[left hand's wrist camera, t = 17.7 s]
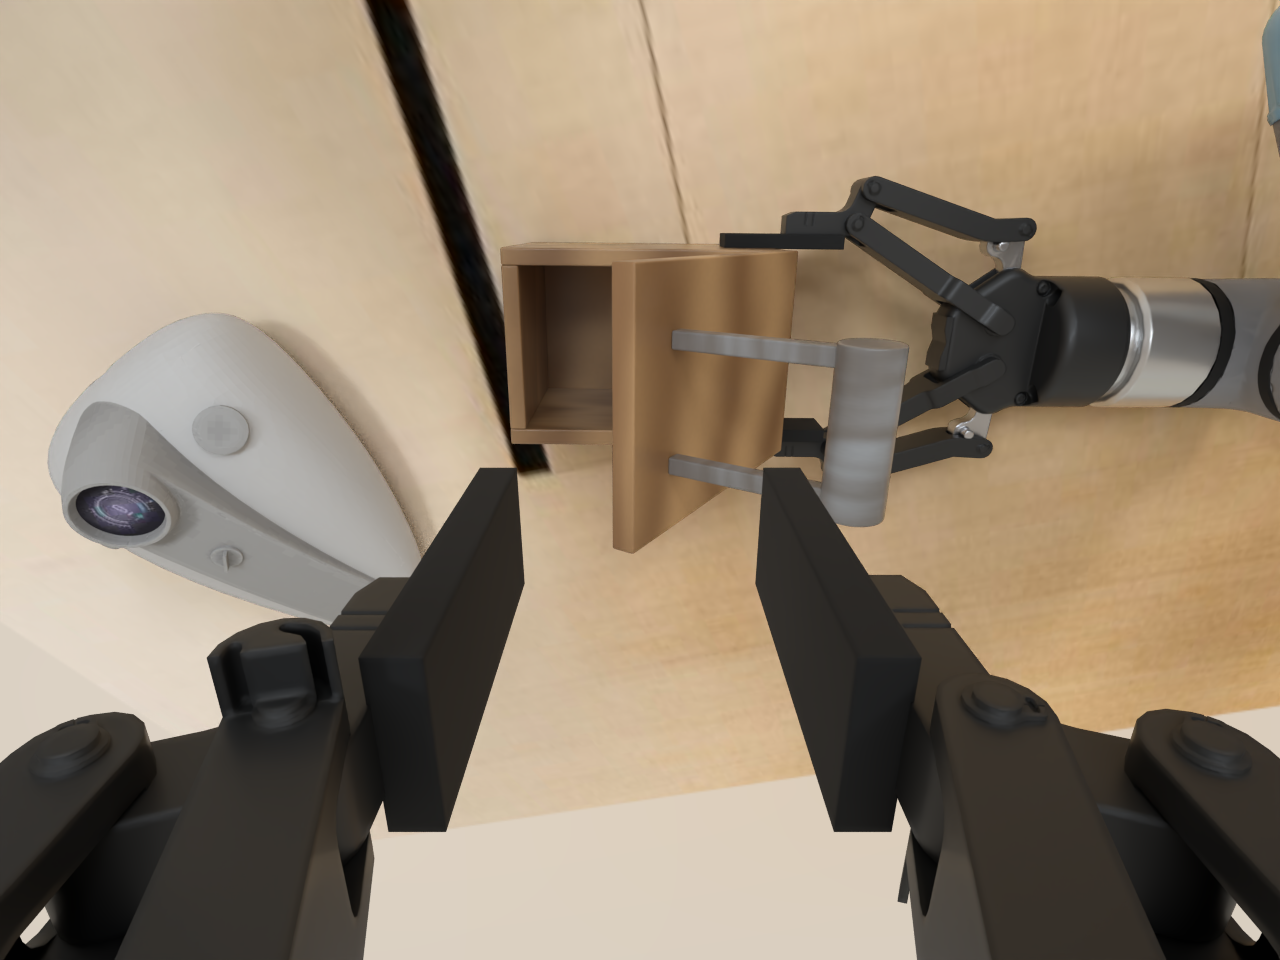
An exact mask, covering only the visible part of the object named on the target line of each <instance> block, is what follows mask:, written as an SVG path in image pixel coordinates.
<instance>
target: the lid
mask: <svg viewBox="0 0 1280 960" xmlns="http://www.w3.org/2000/svg"><path fill="white" fill-rule="evenodd" d="M797 257H798V251H783V250H781V251H765V252H749V253H734V254H718V255H702V256H687V257H671V258H655V259H639V260H624V261H613V262H612V433H613V548H614V549H618V550H621V551H624V552H628V553H631V554H633V553H635V552H636V551H638V550H639V549H641V548H642V547H643V546H645V545H646V544H648V543H649V542H651V541H652V540H653V539H655V538H656V537H658V536H659V535H661V534H662V533H663V532H665V531H666V530H668V529H669V528H671V527H672V526H673V525H675V524H676V523H678V522H679V521H681V520H682V519H683V518H685V517H686V516H688V515H689V514H691V513H692V512H693V511H695V510H696V509H698V508H699V507H701V506H702V505H703V504H705V503H706V502H708V501H709V500H711V499H712V498H713V497H715V496H716V495H718V494H719V493H721V492H722V491H723V490H725V489H726V488H728V487H730V488H734V489H739V490H743V491H748V492H753V493H757V494H762V481H763V471H762V470H757V469H755V468H756V467H758V466H759V465H761V464H762V463H764V462H765V461H766V460H768V459H769V458H771V457H772V456H774V455H775V454H776V453H778V452H779V451H781V443H782V431H783V420H784V408H785V397H786V385H787V373H788V363H795V364H804V365H812V366H821V367H830V368H834V375H833V384H832V393H831V402H830V411H829V420H828V429H827V438H826V447H825V457H824V466H823V475H822V482H817V481H812V480H808V481H809V483H810V484H811V486H812V487H813V489H814V491H815V492H816V494H817V495H818V497H819V498H820V500H821V501H822V503H823V505H824V506H825V508H826V509H827V511H828V512H829V514H830V516H831V517H832V519H833V520H834V522H835V523H837V524H840V525H845V526H851V527H869V526H875V525H878V524H880V523H881V522H882V521H883V520H884V516H885V509H886V502H887V495H888V488H889V482H890V475H891V468H892V461H893V454H894V448H895V441H896V434H897V427H898V420H899V413H900V407H901V400H902V393H903V386H904V379H905V373H906V366H907V359H908V352H909V346H908V345H907V344H905V343H902V342H898V341H893V340H885V339H873V338H851V339H843V340H840V341H838V342H837V343H829V342H818V341H808V340H797V339H790V338H791V327H792V315H793V304H794V292H795V280H796V269H797Z"/></svg>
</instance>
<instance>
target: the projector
mask: <svg viewBox="0 0 1280 960" xmlns="http://www.w3.org/2000/svg"><path fill="white" fill-rule="evenodd" d="M48 468H49V474H50V477H51V479H52V481H53V484H54V486H55V488H56V489H57V491H58V492H59V494H60V495H61V500H62V509H63V515H64V518H65V520H66V521H67V523H68V524H69V525H70V527H71V528H72V529H73V530H75V531H76V532H77V533H79V534H80V535H82V536H83V537H85V538H87V539H89V540H91V541H93V542H96V543H99V544H101V545H103V546H106V547H108V548H111V549H119V548H125V549H127V550H128V551H130V552H132V553H133V554H135V555H137V556H139V557H141V558H143V559H145V560H147V561H149V562H151V563H153V564H155V565H157V566H159V567H161V568H163V569H166V570H168V571H170V572H172V573H175V574H177V575H179V576H182V577H184V578H186V579H188V580H191V581H193V582H196V583H198V584H201V585H204V586H206V587H209V588H211V589H214V590H216V591H219V592H222V593H224V594H227V595H230V596H233V597H236V598H239V599H242V600H245V601H248V602H251V603H254V604H256V605H259V606H263V607H266V608H269V609H273V610H276V611H279V612H282V613H286V614H289V615H292V616H296V617H299V618H309V619H313V620H318V621H322V622H323V623H324V624H327V625H331V624H332V623H333V621H334V620H335V619H336V617H337V616H338V615H341V611H342V610H343V608H344V607H345V606H346V604H347V603H348V602H349V600H350V599H351V598H352V596H353V595H354V594H355V593H356V592H357V591H359V590H360V589H362V588H364V587H365V586H367V585H368V584H370V583H371V582H373V581H374V580H376V579H377V578H379V577H410V576H411V575H412V573H413V572H414V570H415V568H416V567H417V565H418V564H419V562H420V561H421V555H420V551H419V548H418V546H417V543H416V540H415V538H414V535H413V533H412V531H411V528H410V526H409V524H408V522H407V520H406V518H405V516H404V514H403V512H402V510H401V507H400V505H399V503H398V502H397V500H396V498H395V496H394V494H393V493H392V491H391V489H390V487H389V485H388V483H387V482H386V480H385V478H384V477H383V475H382V473H381V472H380V470H379V469H378V467H377V465H376V464H375V462H374V461H373V459H372V458H371V456H370V454H369V453H368V451H367V450H366V448H365V447H364V446H363V444H362V443H361V441H360V440H359V439H358V437H357V436H356V434H355V433H354V432H353V430H352V429H351V427H350V426H349V425H348V424H347V422H346V421H345V420H344V418H343V417H342V416H341V414H340V413H339V412H338V411H337V409H336V408H335V407H334V405H333V404H332V403H331V402H330V401H329V399H328V398H327V397H326V396H325V395H324V393H323V392H322V391H321V390H320V389H319V387H318V386H317V385H316V384H315V383H314V382H313V381H312V379H311V378H310V377H309V376H308V375H307V374H306V373H305V371H304V370H303V369H302V368H301V367H300V366H299V365H298V364H297V363H296V362H295V361H294V360H293V359H292V358H291V357H290V356H289V355H288V354H287V353H286V352H285V351H284V350H283V349H282V348H281V347H280V346H279V345H278V344H277V343H276V342H275V341H273V340H272V339H271V338H270V337H269V336H267V335H266V334H265V333H264V332H262V331H261V330H260V329H258V328H257V327H255V326H254V325H252V324H251V323H249V322H247V321H245V320H243V319H241V318H238V317H236V316H232V315H228V314H223V313H205V314H200V315H195V316H191V317H187V318H184V319H181V320H178V321H176V322H174V323H171V324H169V325H167V326H165V327H163V328H161V329H160V330H158V331H156V332H154V333H153V334H151V335H150V336H148V337H147V338H146V339H144V340H143V341H141V342H140V343H139V344H137V345H136V346H135V347H133V348H132V349H131V350H129V351H128V352H127V353H126V354H124V355H123V356H122V357H121V358H119V359H118V360H117V361H116V362H115V363H114V364H112V365H111V366H110V368H109V369H108V370H107V371H106V373H104V374H103V375H102V376H101V377H100V378H98V379H97V380H95V381H94V382H93V383H92V384H91V385H89V387H88V388H87V389H86V390H85V391H84V392H83V393H82V394H81V395H80V396H79V397H78V398H77V400H76V401H75V402H74V403H73V404H72V405H71V407H70V408H69V409H68V411H67V412H66V414H65V415H64V416H63V418H62V420H61V421H60V423H59V425H58V426H57V428H56V431H55V433H54V435H53V438H52V440H51V443H50V447H49V451H48Z"/></svg>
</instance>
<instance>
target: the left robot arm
mask: <svg viewBox="0 0 1280 960" xmlns="http://www.w3.org/2000/svg"><path fill="white" fill-rule="evenodd" d="M524 584H525V583H524V568H523V554H522V539H521V525H520V510H519V496H518V481H517V468H480V469H479V470H478V472H477V473H476V475H475V477H474V478H473V480H472V481H471V483H470V484H469V486H468V487H467V489H466V491H465V492H464V494H463V495H462V497H461V498H460V500H459V501H458V503H457V505H456V506H455V508H454V509H453V511H452V512H451V514H450V515H449V517H448V519H447V520H446V522H445V523H444V525H443V526H442V528H441V530H440V531H439V533H438V534H437V536H436V537H435V539H434V540H433V542H432V544H431V545H430V547H429V548H428V550H427V551H426V553H425V554H424V556H423V558H422V559H421V561H420V562H419V564H418V565H417V567H416V568H415V570H414V572H413V573H412V575H411V576H410V577H379V578H377V579H376V580H374V581H373V582H371V583H370V584H368V585H367V586H365V587H364V588H362V589H360V590H359V591H357V592H356V593H355V594H354V595H353V596H352V598H351V599H350V600H349V602H348V603H347V604H346V606H345V607H344V608H343V610H342V611H341V615H338V616H337V617H336V619H335V620H334V621H333V623H332V624H331V625H330V627H328V626H327V625H326V624H324V623H323V622H322V621H318V620H313V619H309V618H283V619H279V620H274V621H269V622H265V623H260V624H258V625H255V626H252V627H250V628H247V629H245V630H242V631H240V632H237V633H236V634H234V635H233V636H231V637H229V638H228V639H226V640H225V641H223V642H222V643H220V644H218V646H217V647H216V648H215V649H214V650H213V651H212V652H211V653H210V655H209V656H208V657H207V661H208V664H209V668H210V672H211V675H212V679H213V683H214V687H215V690H216V694H217V698H218V701H219V705H220V709H221V712H222V716H223V718H222V720H221V722H220V725H219V727H217V728H213V729H209V730H206V731H201V732H197V733H192V734H187V735H182V736H178V737H173V738H168V739H163V740H159V741H154V742H150V740H149V736H148V733H147V730H146V727H145V724H144V722H143V721H141V720H140V719H139V718H137V717H136V716H135V715H133V714H126V713H119V712H110V713H102V714H94V715H89V716H84V717H80V718H77V719H76V720H74V719H73V720H70V721H67V722H65V723H62V724H59V725H57V726H56V727H54V728H52V729H50V730H48V731H46V732H44V733H42V734H40V735H38V736H36V737H34V738H33V739H31V740H30V741H28V742H27V743H25V744H24V745H23V746H21V747H20V748H18V749H17V750H15V751H14V752H13V753H11V754H10V755H9V756H8V757H7V758H5V759H4V760H3V761H2V762H1V763H0V960H363V956H364V947H365V938H366V929H367V920H368V911H369V902H370V893H371V884H372V874H373V866H374V853H373V846H372V840H371V835H370V828H371V826H372V824H373V822H374V819H375V817H376V815H377V813H378V810H379V808H380V806H381V804H382V801H383V803H384V809H385V815H386V820H387V826H388V832H446V830H447V827H448V824H449V821H450V818H451V814H452V811H453V808H454V805H455V802H456V799H457V795H458V792H459V789H460V786H461V783H462V780H463V776H464V773H465V770H466V767H467V764H468V761H469V757H470V754H471V751H472V748H473V745H474V742H475V739H476V735H477V732H478V729H479V726H480V723H481V720H482V716H483V713H484V710H485V707H486V704H487V701H488V697H489V694H490V691H491V688H492V685H493V682H494V678H495V675H496V672H497V669H498V666H499V663H500V660H501V656H502V653H503V650H504V647H505V644H506V641H507V637H508V634H509V631H510V628H511V625H512V622H513V618H514V615H515V612H516V609H517V606H518V603H519V599H520V596H521V593H522V590H523V587H524ZM755 584H756V587H757V590H758V593H759V596H760V599H761V603H762V606H763V609H764V612H765V615H766V618H767V622H768V625H769V628H770V631H771V634H772V637H773V641H774V644H775V647H776V650H777V653H778V656H779V660H780V663H781V666H782V669H783V672H784V675H785V678H786V682H787V685H788V688H789V691H790V694H791V697H792V701H793V704H794V707H795V710H796V713H797V716H798V720H799V723H800V726H801V729H802V732H803V735H804V739H805V742H806V745H807V748H808V751H809V754H810V757H811V761H812V764H813V767H814V770H815V773H816V776H817V779H818V783H819V786H820V789H821V792H822V795H823V799H824V801H825V805H826V808H827V811H828V814H829V817H830V821H831V824H832V827H833V830H834V832H891V831H892V826H893V820H894V814H895V809H896V803H897V798H898V800H899V802H900V805H901V807H902V809H903V811H904V814H905V816H906V818H907V820H908V823H909V825H910V827H911V830H910V835H909V840H908V846H907V851H906V856H905V862H904V867H903V872H902V878H901V883H900V889H899V895H898V902H902V903H907V900H908V895H909V891H910V900H911V909H912V918H913V927H914V936H915V945H916V954H917V960H1280V758H1278V757H1277V756H1276V755H1275V754H1274V753H1273V752H1272V751H1270V750H1269V749H1268V748H1266V747H1265V746H1263V745H1262V744H1260V743H1259V742H1258V741H1256V740H1255V739H1253V738H1252V737H1250V736H1249V735H1248V734H1246V733H1244V732H1242V731H1240V730H1237V729H1235V728H1233V727H1231V726H1229V725H1227V724H1225V723H1224V722H1222V721H1220V720H1217V719H1214V718H1211V717H1209V716H1207V717H1206V716H1204V715H1201V714H1197V713H1193V712H1187V711H1179V710H1171V709H1162V710H1154V711H1147V712H1146V713H1145V714H1143V715H1142V716H1141V717H1140V718H1138V719H1137V721H1136V724H1135V727H1134V730H1133V733H1132V736H1131V739H1127V738H1122V737H1117V736H1112V735H1107V734H1103V733H1098V732H1093V731H1088V730H1083V729H1079V728H1075V727H1071V726H1067V725H1064V724H1061V723H1060V721H1059V719H1058V717H1057V715H1056V714H1055V713H1054V711H1053V710H1052V709H1051V707H1050V706H1049V705H1048V703H1047V702H1046V701H1045V700H1043V699H1042V698H1041V697H1039V696H1038V695H1036V694H1035V693H1034V692H1032V691H1031V690H1030V689H1028V688H1026V687H1024V686H1021V685H1019V684H1017V683H1015V682H1013V681H1010V680H1008V679H1005V678H1001V677H997V676H993V675H990V674H989V673H988V672H987V671H986V669H985V668H984V667H983V665H982V664H981V663H980V661H979V660H978V659H977V658H976V656H975V655H974V654H973V652H972V651H971V650H970V648H969V647H968V646H967V644H966V643H965V642H964V641H963V639H962V638H961V637H960V635H959V634H958V633H957V631H956V630H955V629H954V628H951V624H950V622H949V621H948V620H947V618H946V617H945V616H944V614H943V613H940V612H939V608H938V607H937V605H936V604H935V603H934V601H933V600H932V599H931V598H930V596H929V595H928V594H927V592H926V591H925V590H923V589H922V588H920V587H919V586H917V585H916V584H914V583H913V582H911V581H909V580H908V579H906V578H905V577H903V576H902V575H868V573H867V572H866V570H865V568H864V567H863V565H862V564H861V562H860V561H859V559H858V558H857V556H856V554H855V553H854V551H853V550H852V548H851V547H850V545H849V544H848V542H847V540H846V539H845V537H844V536H843V534H842V533H841V531H840V530H839V528H838V526H837V525H836V523H835V522H834V520H833V519H832V517H831V516H830V514H829V512H828V511H827V509H826V508H825V506H824V505H823V503H822V501H821V500H820V498H819V497H818V495H817V494H816V492H815V491H814V489H813V487H812V486H811V484H810V483H809V481H808V480H807V478H806V477H805V475H804V473H803V472H802V470H801V469H800V468H763V481H762V496H761V510H760V525H759V539H758V554H757V568H756V583H755ZM1236 903H1237V904H1238V905H1239V906H1240V907H1241V908H1242V910H1243V911H1244V912H1245V913H1246V914H1247V915H1248V917H1249V918H1250V919H1251V920H1252V921H1253V923H1254V924H1255V925H1256V926H1257V927H1258V928H1259V930H1260V931H1261V932H1262V934H1261V936H1260V938H1259V939H1258V941H1257V942H1255V941H1254V940H1252V939H1251V938H1250V937H1249V936H1248V935H1247V934H1246V933H1245V932H1244V931H1243V930H1242V929H1241V927H1240V926H1239V925H1238V924H1237V923H1236V921H1235V920H1234V919H1233V918H1232V917H1231V915H1232V912H1233V910H1234V908H1235V906H1236ZM44 907H45V908H46V910H47V912H48V915H49V917H50V919H49V921H48V922H47V923H46V924H45V925H44V927H43V928H42V929H41V930H40V932H39V933H38V934H37V935H36V936H34V937H33V938H32V939H31V940H30V941H29V942H28V943H27V944H24V943H23V942H22V940H21V938H20V935H21V934H22V933H23V931H24V930H25V929H26V928H27V927H28V925H29V924H30V923H31V922H32V921H33V920H34V918H35V917H36V916H37V915H38V914H39V912H40V911H41V910H42V909H43V908H44Z"/></svg>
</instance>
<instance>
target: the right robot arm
mask: <svg viewBox="0 0 1280 960" xmlns="http://www.w3.org/2000/svg"><path fill="white" fill-rule="evenodd" d="M1262 47H1263V57H1264V67H1265V76H1266V86H1267V96H1268V106H1269V113H1268V116H1267V117H1268V120H1267V121H1268V123H1269V124H1270V126H1271V125H1273V128H1274V133H1275V137H1276V142H1277V147H1278V151H1279V156H1280V6H1279V7H1278V8H1277V9H1276V11H1275V12H1274V13H1273V14H1272V16H1271V17H1270V19H1269V20H1268V22H1267V24H1266V27H1265V29H1264V32H1263V36H1262ZM850 192H851V194H850V196H849V199H848V201H847V203H846V205H845V206H844V207H843V208H842V209H841V210H840V211H838V212H790V213H788V214H785V215H783V216H782V221H781V234H754V233H720V247H724V248H775V249H838V250H844V241H845V238H846V239H848V240H849V241H850V242H852V243H853V244H855V245H856V246H858V247H859V248H861V249H862V250H863V251H865V252H866V253H868V254H869V255H871V256H872V257H873V258H875V259H876V260H878V261H879V262H881V263H882V264H884V265H885V266H886V267H888V268H889V269H891V270H892V271H894V272H895V273H897V274H898V275H899V276H901V277H902V278H904V279H905V280H907V281H908V282H909V283H911V284H912V285H914V286H915V287H917V288H918V289H920V290H921V291H922V292H923V293H924V294H925V295H926V296H928V297H929V298H930V299H932V300H933V301H935V302H936V303H938V304H939V305H941V306H940V308H939V309H938V311H937V313H933V318H932V324H931V328H932V337H933V339H932V342H931V344H930V346H929V349H928V351H927V356H926V363H925V364H926V365H928V366H929V369H928V370H926V371H924V372H922V373H920V374H918V375H916V376H915V377H913V378H912V379H911V380H910V381H909V383H907V384H906V385H904V386H903V393H902V400H901V407H900V413H899V420H898V426H899V425H901V424H903V423H905V422H907V421H909V420H911V419H913V418H915V417H917V416H919V415H920V414H922V413H924V412H926V411H928V410H930V409H935V408H940V407H943V406H945V405H947V404H949V403H951V402H953V401H955V400H956V399H959V400H960V401H962V402H963V403H964V404H965V405H967V406H968V407H969V408H970V409H969V411H968V413H967V414H966V415H965V416H964V417H962V418H958V419H954V420H952V421H950V422H949V423H948V427H939V428H932V429H928V430H924V431H920V432H917V433H913V434H909V435H906V436H902V437H898V438H896V441H895V448H894V454H893V461H892V468H891V473H895V472H898V471H902V470H906V469H909V468H913V467H917V466H920V465H924V464H928V463H932V462H935V461H939V460H943V459H946V458H950V457H968V458H985V457H987V456H988V455H989V454H990V453H991V451H992V449H993V445H992V443H991V442H990V441H989V440H987V439H986V436H987V432H988V428H989V424H990V420H991V416H992V414H993V413H996V412H998V411H1000V410H1002V409H1004V408H1007V407H1012V406H1041V407H1083V406H1087V405H1091V406H1093V407H1195V408H1224V409H1234V410H1241V411H1246V412H1250V413H1253V414H1257V415H1260V416H1263V417H1266V418H1269V419H1273V420H1276V421H1279V422H1280V279H1269V278H1261V279H1197V278H1163V277H1112V278H1109V279H1105V278H1102V277H1076V276H1032V275H1030V274H1028V273H1027V272H1025V271H1024V270H1022V269H1021V263H1022V256H1023V250H1024V243H1025V241H1028V240H1029V239H1031V238H1032V237H1033V236H1034V235H1035V232H1036V230H1037V227H1036V223H1035V221H1034V220H1033V219H1031V218H1000V219H994V218H991V217H989V216H986V215H983V214H980V213H978V212H975V211H972V210H969V209H967V208H964V207H961V206H958V205H956V204H953V203H950V202H948V201H945V200H942V199H939V198H937V197H934V196H931V195H928V194H926V193H923V192H920V191H917V190H915V189H912V188H909V187H906V186H904V185H901V184H898V183H895V182H893V181H890V180H887V179H884V178H882V177H878V176H873V177H868V178H863V179H860V180H857V181H856V182H854V183H853V185H852V187H851V191H850ZM874 208H877V209H879V210H882V211H885V212H888V213H890V214H893V215H896V216H899V217H902V218H904V219H907V220H910V221H913V222H915V223H918V224H921V225H924V226H927V227H929V228H932V229H935V230H938V231H941V232H943V233H946V234H949V235H952V236H954V237H957V238H960V239H964V240H969V241H980V244H979V247H980V252H981V253H982V254H983V255H985V256H988V257H991V258H993V260H994V261H995V264H996V268H995V269H993V270H991V271H990V272H988V273H986V274H985V275H983V276H982V277H980V278H979V279H977V280H976V281H974V282H973V283H971V284H970V285H967V284H966V283H964V282H963V281H961V280H959V279H957V278H955V277H953V276H952V275H950V274H949V273H947V272H946V271H945V270H943V269H942V268H940V267H939V266H937V265H936V264H935V263H933V262H932V261H930V260H929V259H928V258H926V257H925V256H923V255H922V254H920V253H919V252H918V251H916V250H915V249H913V248H912V247H911V246H909V245H908V244H906V243H905V242H903V241H902V240H901V239H899V238H898V237H896V236H895V235H894V234H892V233H891V232H889V231H888V230H887V229H885V228H884V227H882V226H881V225H879V224H878V223H877V222H875V221H874V220H872V219H871V218H870V217H871V215H872V213H873V210H874ZM827 429H828V426H827V427H825V428H824V429H823V428H822V427H821V426H820V425H819V424H818V423H817V421H816V420H815V419H814V418H784V420H783V431H782V443H781V451H779V452H778V453H776V454H775V455H774V456H776V457H784V456H786V457H791V456H792V457H817V458H819V459H820V462H821V469H822V471H823V466H824V457H825V447H826V438H827Z"/></svg>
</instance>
